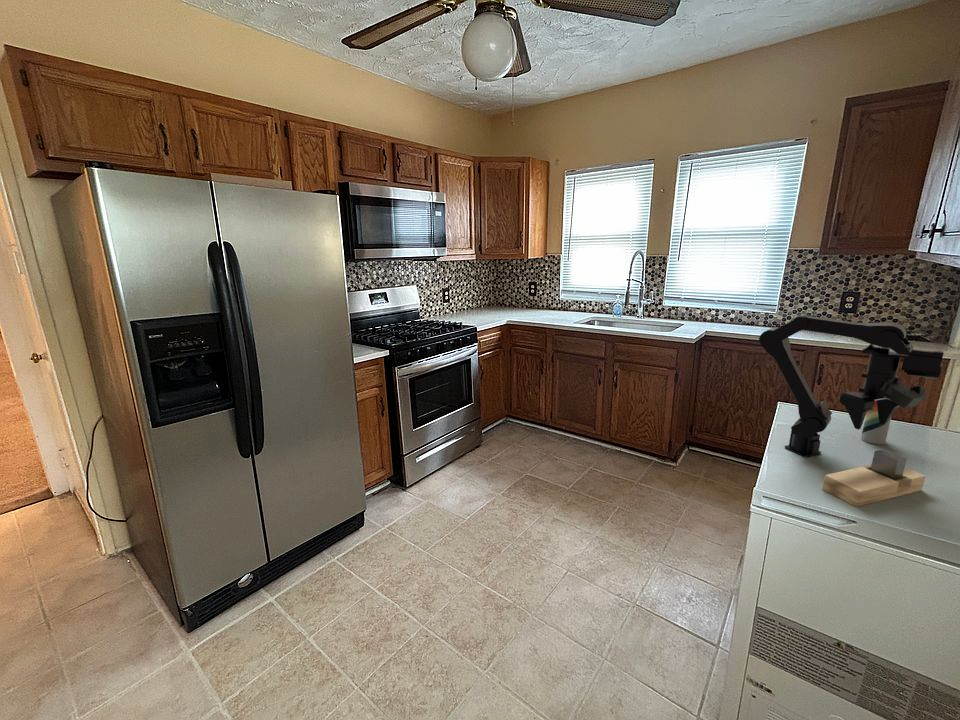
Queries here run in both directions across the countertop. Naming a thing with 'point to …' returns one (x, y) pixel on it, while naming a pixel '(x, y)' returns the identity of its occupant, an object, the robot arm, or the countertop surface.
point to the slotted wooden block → (870, 485)
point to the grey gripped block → (888, 464)
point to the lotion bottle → (874, 427)
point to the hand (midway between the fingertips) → (869, 426)
